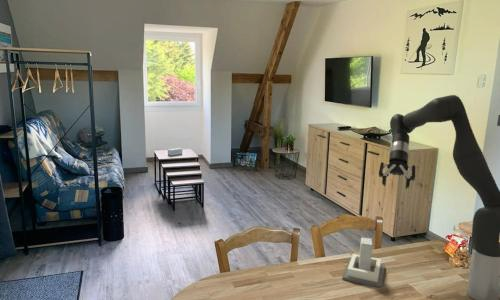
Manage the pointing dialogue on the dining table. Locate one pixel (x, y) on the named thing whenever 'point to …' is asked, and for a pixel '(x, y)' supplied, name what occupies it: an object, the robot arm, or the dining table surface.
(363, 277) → the socket plate
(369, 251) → the skincare box
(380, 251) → the dining table surface
